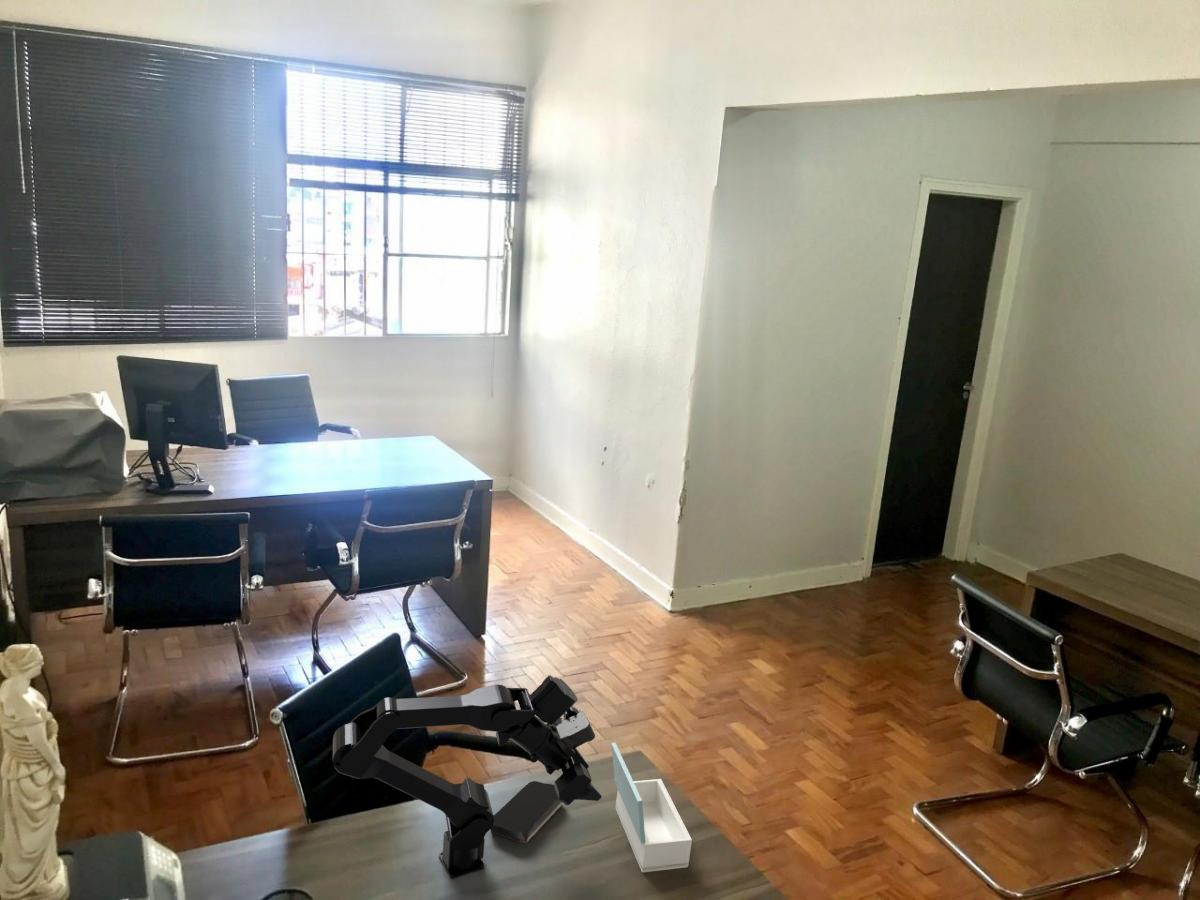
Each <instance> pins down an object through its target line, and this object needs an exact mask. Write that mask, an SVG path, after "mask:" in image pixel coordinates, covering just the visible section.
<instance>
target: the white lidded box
mask: <svg viewBox="0 0 1200 900" xmlns="http://www.w3.org/2000/svg"><path fill="white" fill-rule="evenodd" d="M633 782H634V784H635V786H636V788H637V790H638V793H639V795H640V797H641V799H642V805H643V818H644V831H645V843H642V844H641V842H640V840H639V837H638V835H637V833H636V830H635V828H634V826H633V823H632V821H631V819H630V816H629V814H628V812H627V809H626V807H625V805H624V802H623V800H622V798H621V795H620V793H619V791H618V790H617V792H616V799H615V800H616V801H615V810H616V813H617V815H618V818H619V820H620V822H621V826H622V827H623V830H624V832H625V835H626V838H627V839H628V842H629V844H630V847H631V849H632V852H633V854H634V857H635V859H636V862H637V864H638V867H639V868H640V870H641V873H650V872H659V871H665V870H667V871H669V870H674V869H675V870H676V869H684V868H689V864H690V863H689V862H690V855H691V850H692V842H693V840H692V838H691V835H690V833H689V831H688V829H687V828H686V825H685V824H684V821H683V820H682V817H681V816H680V813H679V812H678V810H677V808H676V806H675V803H674V802H673V799H672V798H671V796H670V794H669V792H668V790H667V788H666V786H665V784H664V782H663V780H662V778H657V779H646V780H644V779H643V780H633Z"/></svg>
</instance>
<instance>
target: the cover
mask: <svg viewBox="0 0 1200 900" xmlns="http://www.w3.org/2000/svg"><path fill="white" fill-rule="evenodd" d="M610 744H611V754H612V767H613V776H614V784H615V786H616V787H617V791H619V793H620V795H621V798H622V800H623V802H624V805H625V807H626V809H627V812H628V814H629V816H630V819H631V821H632V823H633V826H634V828H635V830H636V833H637V835H638V837H639V840H640V842H641V844H642V843H645V831H644V818H643V805H642V799H641V797H640V795H639V793H638V790H637V788H636V786H635V784H634V782H633V781H634V779H633V778H632V774H631V773H630V770H629V769H628V766H627V765H626V763H625V760H624V758H623V756H622V754H621V751H620V749H619V747H618V745H617V743H616V742H611V743H610Z"/></svg>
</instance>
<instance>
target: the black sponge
mask: <svg viewBox="0 0 1200 900" xmlns="http://www.w3.org/2000/svg"><path fill="white" fill-rule="evenodd" d="M562 805H563V803H562V802H561V801H560V800H559V799H558V796H557V793H556V790H555V784H552V783H545V782H540V781H535V780H532V781H530V782H528V783H527V784H526V785H525V786H524V787H522V789H520V790H519V791H518V792H517V793H516V794H515V795H514V796H513V797H512V798H511V799H510V800H509V801H508V802H507V803H505V805H504V806H502V807H501V808H500V809H499V810H498V811H497V812H496V813H495V814H493V816H494V823H493V826H492V828H491V829H490V832H491V833H493V834H494V835H498V836H501V837H505V838H508V839H509V840H511V841H514V842H515V843H519V844H520V843H528V842H529V841H530V840H531V838H532V837H533V836H535V835H536V833H538V831H539V830H540V829H541V828H542V827H543V825H545V824H546V823H547V822H548V821H549V820H550V818H551V817H552V816H553V815H554V814H555V813H556V812H557V811H558V809H560V808H561V806H562Z"/></svg>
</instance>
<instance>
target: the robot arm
mask: <svg viewBox="0 0 1200 900" xmlns="http://www.w3.org/2000/svg"><path fill="white" fill-rule="evenodd" d="M516 701H517V702H518V706H519V709H517V707H516V704H515V703H516ZM578 701H579V700H578V697H577V695H576V694H575V692H574V690H573V689H572V688H571V687H570V686H569V685H568V684H567V683H566V681H564V680H563V679H562V678H558V677H556V676H554V677H553V676H552V675H550V674H549V675H547V676H546V678H544V680H543V681H542V683H541V684H540V685H539V686H538V687H536V689H535V690H533V692H532V693H529V690H528V688H526V687H506V685H503V684H492V685H487V686H484V687H483V686H482V687H478V688H476V689H474V690H472V691H471V692H469V693H466V694H461V695H450V696H449V695H448V696H431V697H428V696H427V697H410V698H394V697H388V696H387V697H384V698H382V699H381V700H380V701H378V703H376V704H375V705H374V706H373V707H371V708H368V709H366V710H364V711H362V712H360V713H358V714H357V715H356V716H355V717H354V718H353V719H352V720H350V722H349V723H346V724H343V725H342V726H339V727H338V729H336V730H335V732H334V734H333V739H332V764H333V766H334V767H333V768H334V769H335V770H336V771H337V772H338V773H340V774H342V775H344V776H349V777H351V778H355V779H359V780H363V779H372V778H373V779H376V780H379V781H381V782H383V783H385V784H387V785H389V786H391V787H393V788H395V789H397V790H399V791H401V792H403V793H405V794H407V795H409V796H411V797H413V798H415V799H417V800H419V801H421V802H422V803H425V804H427V805H429V806H431V807H433V808H436V809H437V810H439V811H441V812H442V813H443V814H444V815H445V820H446V821H445V822H446V827H447V830H446V831H444V832H443V842H442V851H441V852H439V853H438V856H439V859H440V861H441V863H442V865H443V867H444V868H445V870H446V872H447V874H448V876H449V878H451V879H456V878H459V877H461V876H465V875H468V874H471V873H473V872H478V871H481V870H483V869H485V866H486V865H485V863H484V862H483V860H482V859H483V858H484V857H485V842H486V841H485V840H486V839H485V836H486V834H487V833H488V832H489V831H491V828H492V826H493V823H494V816H493V815H494V814H493V813H494V811H493V808H492V804H491V800H490V796H489V792H488V791H487V790H486V789H485V785H484V784H483V783H478V782H475V781H474V780H473V779H471V778H470V777H468V776H467V777H465V779H464V781H463V782H462V783H452V782H450V781H448V780H447V779H445V778H443V777H441V776H439V775H436V774H435V773H433V772H431V771H429V770H427V769H425V768H424V767H421V766H419V765H417V764H415V763H414V762H412V761H409V760H407V759H406V758H403V757H402V756H400V755H398V754H396V753H394V752H392V751H391V750H389V749H387V748H386V747H385V746H384V744H385V742H386V741H387V739H388V738H389V736H390V735H392V733H394V732H395V731H396V730H400V729H404V730H405V729H415V728H417V729H418V728H431V727H448V726H451V727H452V726H469V727H472V728H475V729H477V730H479V731H485V732H495V736H496V740H497V744H498V747H503V746H504V745H505V744H506V743H508V741H510V740H511V741H512V742H514V744H516V745H518V746H519V747H520V748H521V749H523V750H524V751H525V752H527V753H528V755H529V758H530V760H531V761H532V762H533V763H537V762H540V763H541V764H542V765H543V766H544V768H545V770H546V773H547V774H549V776H550V775H552V774H553V773H554V772H555V771H560V770H561V772H562V774H560V776H559V777H558V778H557V779H556V780H555V781H554V785H555V790H556V793H557V796H558V799H559V800H560V801H561V802H562V804H564V805H565V806H570V804H572V803H573V802H574V801H577V800H581V801H593V802H594V801H595V802H598V801H600V799H602V794H601V793H600V792H599V791H598V790H597V788H596V787H595V786H594V785H593V783H592V777H591V774H590V772H589V769H588V768H589V767H590V766H589V764H588V763H587V761H586V760H585V758H584V757H583V755H582V753H580V751H579V749H578V747H580V746H582V745H584V744H586V743H588V742H592V741H593V740H594V739H595V738H596V734H595V731H594V730H593V727H592V724H591V723H590V721H589V719H588V717H587V715H586V713H585V712H584V711H582V710H581V709H579V710H578V708H576V707H574V706H573V705H575V704H576V703H577V702H578ZM562 717H563V718H562Z"/></svg>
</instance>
